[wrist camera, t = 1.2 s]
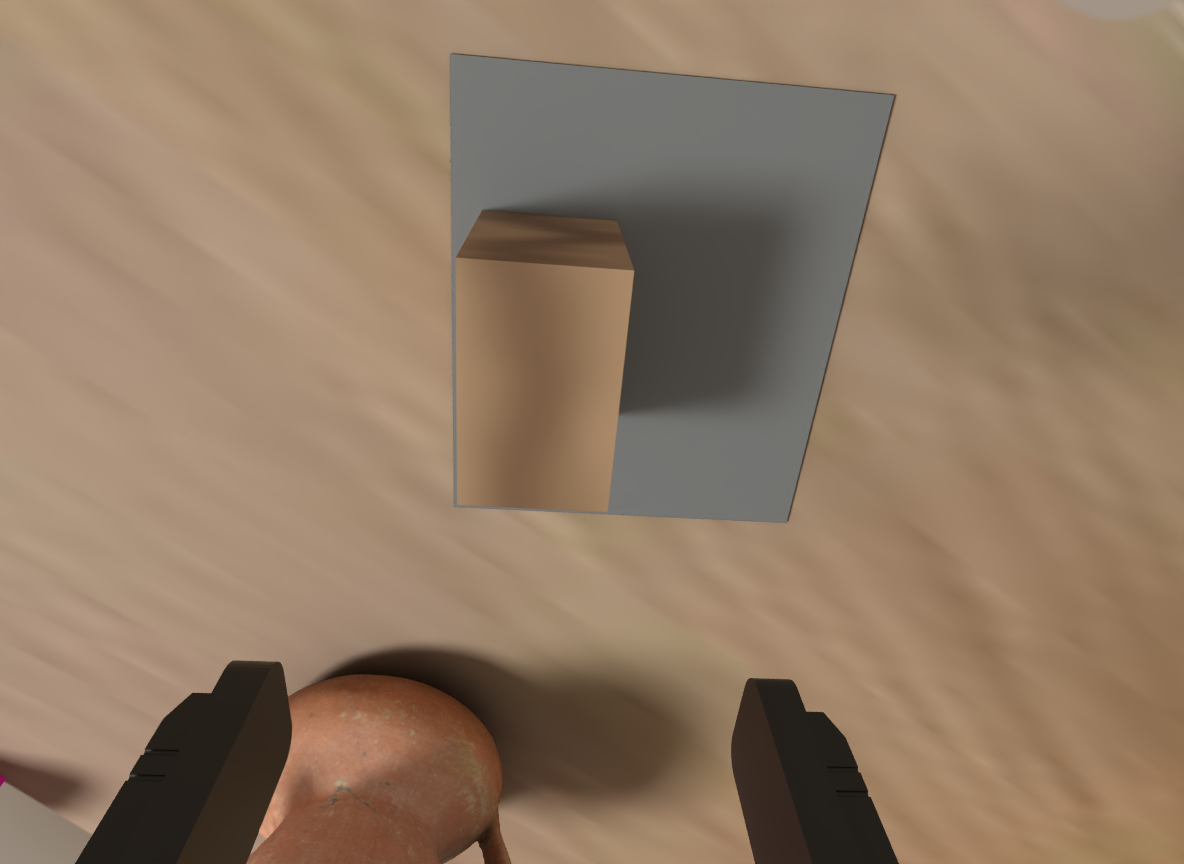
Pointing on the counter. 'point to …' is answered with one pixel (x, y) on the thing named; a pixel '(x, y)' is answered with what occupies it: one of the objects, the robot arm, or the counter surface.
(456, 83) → the grey mat
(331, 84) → the counter surface
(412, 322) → the counter surface
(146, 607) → the counter surface
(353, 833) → the ceramic jug
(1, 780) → the toy block
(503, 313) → the walnut block
